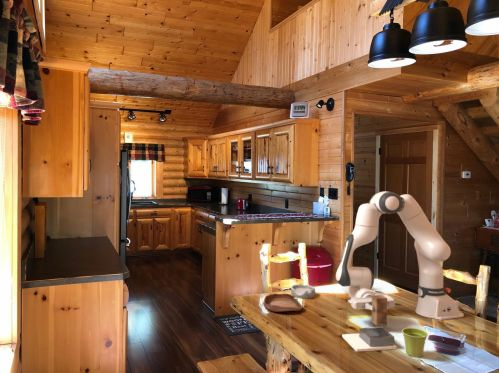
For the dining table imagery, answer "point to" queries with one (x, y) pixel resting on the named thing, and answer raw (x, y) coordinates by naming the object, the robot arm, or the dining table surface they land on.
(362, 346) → the base plate
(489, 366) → the dining table surface
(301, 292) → the dish
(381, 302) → the walnut post
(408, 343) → the plant pot
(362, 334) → the steel collar
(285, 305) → the basket
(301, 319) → the dining table surface
